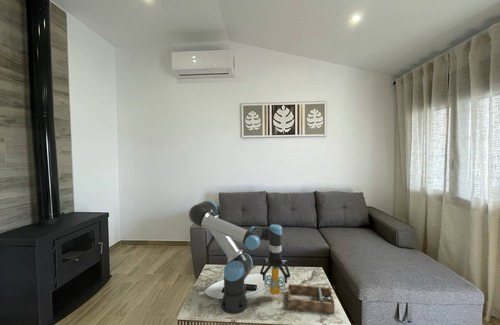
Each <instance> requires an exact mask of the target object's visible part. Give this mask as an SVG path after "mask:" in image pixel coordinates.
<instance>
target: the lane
mask: <svg viewBox="0 0 500 325" xmlns="http://www.w3.org/2000/svg"><path fill="white" fill-rule="evenodd" d="M318 287H320V288H321V293H322V297H329V298H331V300H328V301H329V302H327V301H326V302H325V301H323V302H319V300H318V301H317V300H308V299H301V298H300V299H297V298H291V294H296V295H297V294H298V295H307V296H318ZM287 293H288V294H287V296H288V298H287V308H288V309H295V310H303V311H311V312H321V313H329V314H335V300H334V297H333V295H332V289H331V286H328V287H325V286H324V287H323V286H312V285H304V284H303V285H302V284H292V283H288V292H287ZM318 297H319V296H318Z"/></svg>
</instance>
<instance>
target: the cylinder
mask: <svg viewBox="0 0 500 325" xmlns="http://www.w3.org/2000/svg"><path fill="white" fill-rule="evenodd" d="M281 279H282V280H281ZM268 282H269V283H268ZM265 283H266V286H268V287H269V292H270V294H272V295H278V294H280V292H281V288H284V276H279V267H272V266H271V274H268V275H266V281H264V284H265ZM280 284H281V285H280Z"/></svg>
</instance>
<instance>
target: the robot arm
mask: <svg viewBox="0 0 500 325" xmlns="http://www.w3.org/2000/svg"><path fill="white" fill-rule="evenodd" d="M219 217H220V214H219V213H218V207H217V205H216V204H215V203H214V202H213V201H210V200H205V201H202V202H199V203H197V204H195V205H193V206H191V208H190V209H189V213H188V218H189V220H190V221H191V223H193V224H194V225H196V226H197V227H200V228H203V229H204V228H207V229H208V230H209V231H210V233H211V234H212V236H213V237H214V239H215V241H217V243H218V245H219V246H220V248H221V249H222V251H223V253H224V254H225V256H226V257H227V263H226V264H225V266H224V268H223V280H224V281H223V289H224V291H223V295H222V298H221V304H220V305H221V306H220V307H221V310H222V311H223V312H225V313H227V314H229V315H230V314H231V315H232V314H233V315H236V314H240V313H242V312H244V311H245V310H247V308H248V298H247V295H246V292H245V280H246V279H247V277H248V275H249V274H250V273H251V271H252V268H253V264H254V262H253V259H252V257H251V255H249V254H248V253H246V252H244V250H243V249H240V248H239V247H238V246H237V243H235V241H237V242H239V243H241V244H244V245H245V247H246V248H247V249H248V250H250V251H254V250H256V249H257V248H259V246H260V245H261V243H262V241H268V243H269V246H268V247H269V248H268V249H269V251H268V258H266V257H264V258H263V264H262V266H261V269H260V272H259V274H260V275H261V276H262V280H263V281H264V287H265V288H266V287H267V285H266V283H265V281H266V280H267V273H268V271H269V270H270V269H272V267H279V269H280V271H281V273H282V275H283V278H284V282H283V290H286V284H287V283H288V279H290V278H291V273H290V270H289V267H288V263H287V261H288V260H287V259H282V253H283V252H282V249H283V248H282V247H283V243H282V242H283V227H282V225H280V224H277V223H275V224H270V225H269V227H262V226H253V225H252V226H250V229H249V230H247V229H245V228H243V227H241V226H239V225H236V224H233V223H231V222H229V221H226V220H223V219H221V218H219ZM234 240H235V241H234ZM268 262H269V263H268ZM267 263H268V266H267V267H266V268H265V266H266V264H267ZM282 264H283V265H284V267H283V265H282ZM279 269H278V270H279Z"/></svg>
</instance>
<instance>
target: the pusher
mask: <svg viewBox="0 0 500 325" xmlns="http://www.w3.org/2000/svg"><path fill="white" fill-rule="evenodd" d="M317 287H318V301H319V302H324V300H328V301H329V300H331V298H329V297H327V296H322V293H321V288H320V287H321V286H317Z"/></svg>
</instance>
